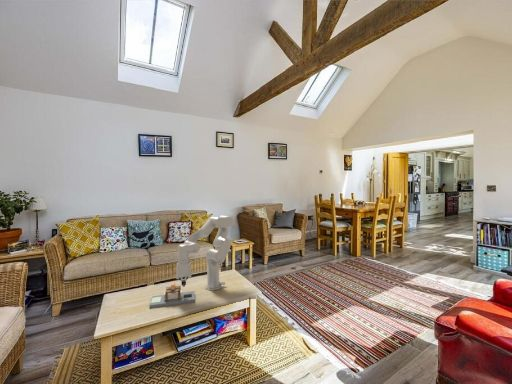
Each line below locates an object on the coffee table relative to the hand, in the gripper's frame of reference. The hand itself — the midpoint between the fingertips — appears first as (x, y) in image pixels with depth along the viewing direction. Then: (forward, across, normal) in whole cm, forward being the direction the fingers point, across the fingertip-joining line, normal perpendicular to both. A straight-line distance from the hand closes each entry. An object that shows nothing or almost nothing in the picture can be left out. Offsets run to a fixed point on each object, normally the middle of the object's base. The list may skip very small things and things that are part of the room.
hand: (183, 286), depth 178 cm
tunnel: (+8, +7, 0) cm, 11 cm away
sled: (+8, +7, 0) cm, 11 cm away
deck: (+10, +7, 0) cm, 12 cm away
